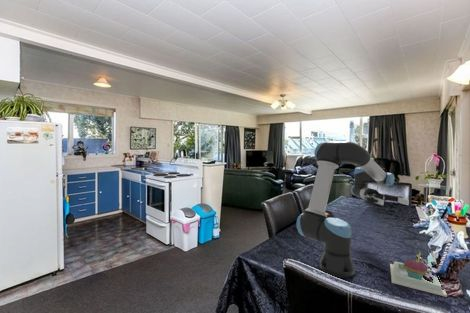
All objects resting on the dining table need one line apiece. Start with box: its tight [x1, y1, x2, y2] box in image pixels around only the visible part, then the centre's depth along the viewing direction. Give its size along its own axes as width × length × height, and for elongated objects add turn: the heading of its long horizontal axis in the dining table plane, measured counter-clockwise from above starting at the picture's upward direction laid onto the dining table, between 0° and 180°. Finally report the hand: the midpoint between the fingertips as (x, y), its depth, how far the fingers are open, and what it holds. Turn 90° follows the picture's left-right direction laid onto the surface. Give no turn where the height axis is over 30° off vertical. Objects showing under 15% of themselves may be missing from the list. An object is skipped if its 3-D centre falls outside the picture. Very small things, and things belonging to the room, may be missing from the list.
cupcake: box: [403, 250, 428, 280], centre depth 103 cm, size 9×8×12 cm
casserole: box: [325, 210, 336, 218], centre depth 181 cm, size 25×19×8 cm
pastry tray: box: [389, 261, 448, 298], centre depth 104 cm, size 18×18×3 cm
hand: (395, 202), depth 121 cm, fingers open, 13 cm apart
